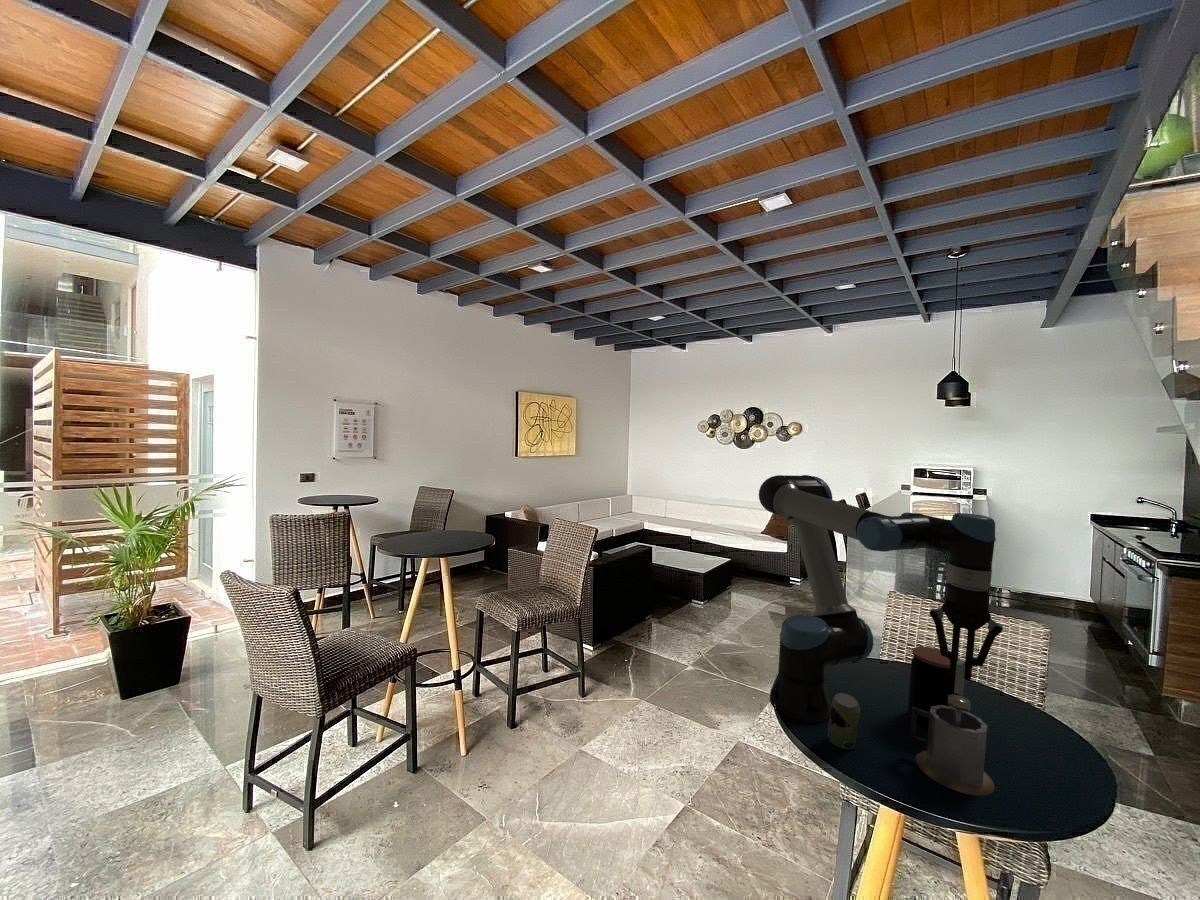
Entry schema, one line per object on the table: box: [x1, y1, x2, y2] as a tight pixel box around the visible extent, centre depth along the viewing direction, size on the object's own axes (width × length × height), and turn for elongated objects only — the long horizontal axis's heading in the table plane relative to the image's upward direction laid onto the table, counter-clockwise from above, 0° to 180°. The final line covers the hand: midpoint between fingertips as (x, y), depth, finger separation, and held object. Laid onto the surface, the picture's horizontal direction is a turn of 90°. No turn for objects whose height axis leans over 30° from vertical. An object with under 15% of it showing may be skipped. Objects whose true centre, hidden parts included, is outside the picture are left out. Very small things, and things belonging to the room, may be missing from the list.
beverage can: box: [827, 692, 861, 750], centre depth 114 cm, size 6×7×12 cm
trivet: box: [915, 750, 995, 797], centre depth 106 cm, size 14×14×1 cm
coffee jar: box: [907, 646, 962, 730], centre depth 125 cm, size 11×11×18 cm
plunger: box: [948, 695, 972, 727], centre depth 106 cm, size 7×7×13 cm
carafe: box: [909, 705, 988, 789], centre depth 107 cm, size 13×10×12 cm
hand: (958, 691), depth 106 cm, fingers closed
